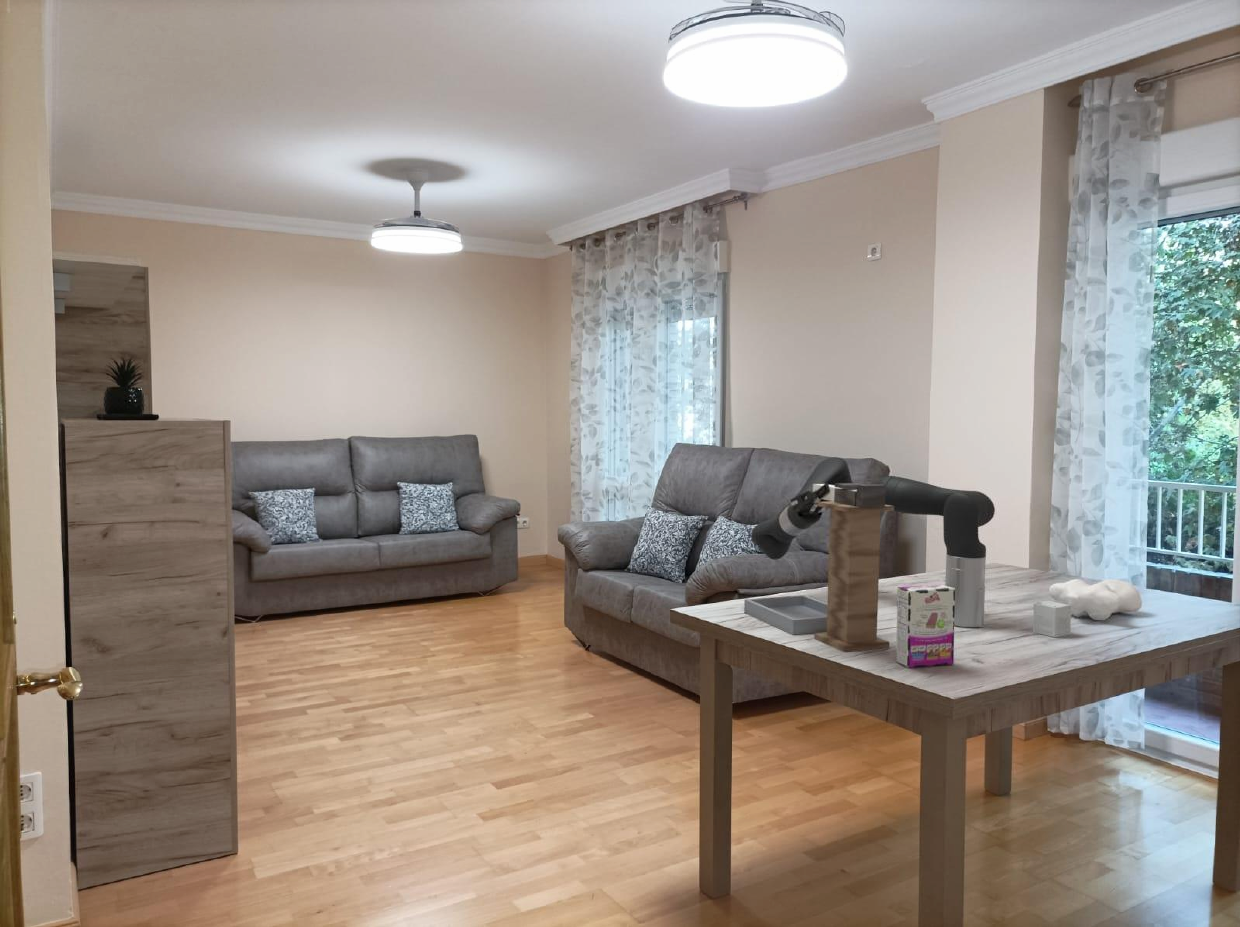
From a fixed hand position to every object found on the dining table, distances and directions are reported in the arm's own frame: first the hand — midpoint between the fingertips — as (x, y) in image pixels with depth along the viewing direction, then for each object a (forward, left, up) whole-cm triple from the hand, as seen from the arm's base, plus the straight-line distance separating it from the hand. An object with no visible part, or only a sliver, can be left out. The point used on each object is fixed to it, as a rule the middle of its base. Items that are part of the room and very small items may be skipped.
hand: (834, 487), depth 216 cm
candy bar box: (-23, +16, -35) cm, 45 cm away
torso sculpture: (-59, -50, -35) cm, 85 cm away
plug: (-2, +2, -3) cm, 4 cm away
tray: (+10, -10, -35) cm, 38 cm away
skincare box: (-48, -25, -35) cm, 65 cm away
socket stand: (-6, +6, -35) cm, 36 cm away
